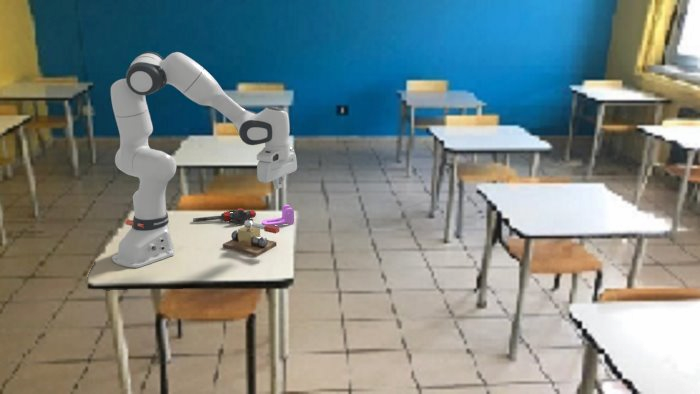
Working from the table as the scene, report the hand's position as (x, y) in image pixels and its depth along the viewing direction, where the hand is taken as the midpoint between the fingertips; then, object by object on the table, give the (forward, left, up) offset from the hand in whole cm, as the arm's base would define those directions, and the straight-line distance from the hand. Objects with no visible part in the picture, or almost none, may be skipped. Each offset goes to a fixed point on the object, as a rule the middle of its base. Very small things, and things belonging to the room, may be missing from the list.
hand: (278, 188), depth 222 cm
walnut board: (-6, +9, -23) cm, 26 cm away
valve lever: (-6, +4, -15) cm, 16 cm away
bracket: (+19, +15, -23) cm, 34 cm away
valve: (+11, +37, -24) cm, 45 cm away
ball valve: (-6, +9, -22) cm, 25 cm away
